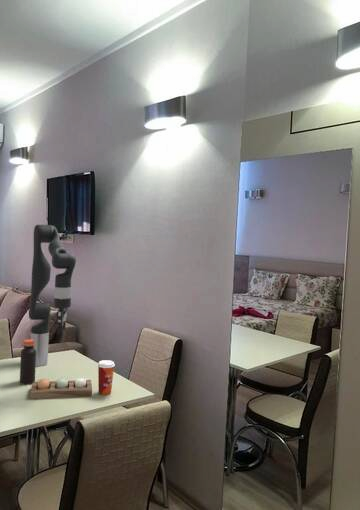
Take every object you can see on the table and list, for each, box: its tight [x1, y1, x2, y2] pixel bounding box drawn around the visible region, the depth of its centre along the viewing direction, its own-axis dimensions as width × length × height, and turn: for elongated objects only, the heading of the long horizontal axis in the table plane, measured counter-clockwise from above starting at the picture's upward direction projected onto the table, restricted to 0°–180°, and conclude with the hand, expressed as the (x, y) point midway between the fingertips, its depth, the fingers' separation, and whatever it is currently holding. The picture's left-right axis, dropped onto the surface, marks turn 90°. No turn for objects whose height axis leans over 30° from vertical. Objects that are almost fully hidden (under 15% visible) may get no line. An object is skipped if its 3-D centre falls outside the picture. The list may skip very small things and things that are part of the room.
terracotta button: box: [37, 378, 50, 389], centre depth 181 cm, size 5×5×4 cm
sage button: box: [56, 377, 69, 389], centre depth 183 cm, size 5×5×4 cm
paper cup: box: [97, 359, 116, 396], centre depth 186 cm, size 8×8×14 cm
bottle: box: [19, 338, 37, 385], centre depth 192 cm, size 7×7×20 cm
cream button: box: [74, 377, 87, 388], centre depth 185 cm, size 5×5×4 cm
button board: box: [29, 379, 93, 400], centre depth 183 cm, size 12×26×3 cm, turn 105°
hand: (61, 331), depth 187 cm, fingers open, 8 cm apart
